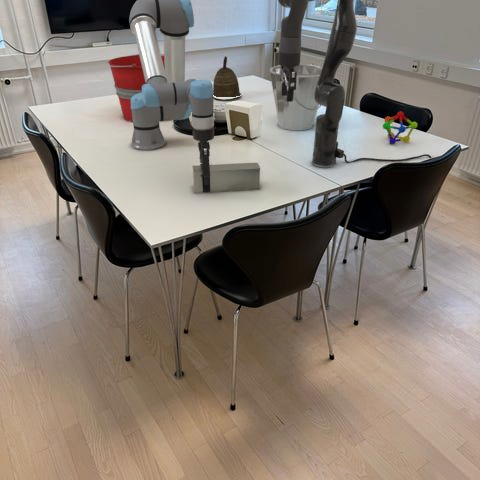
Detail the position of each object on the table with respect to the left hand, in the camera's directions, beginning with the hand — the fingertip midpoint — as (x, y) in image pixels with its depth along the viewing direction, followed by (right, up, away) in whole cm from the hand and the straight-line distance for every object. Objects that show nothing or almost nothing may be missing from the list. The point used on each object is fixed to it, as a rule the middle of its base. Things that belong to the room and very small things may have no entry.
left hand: (205, 185), depth 166 cm
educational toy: (+87, +26, +45) cm, 101 cm away
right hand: (+30, +31, -5) cm, 44 cm away
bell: (+4, +70, +116) cm, 135 cm away
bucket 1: (-40, +49, +81) cm, 102 cm away
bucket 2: (+42, +40, +68) cm, 89 cm away
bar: (+8, -1, +2) cm, 8 cm away
